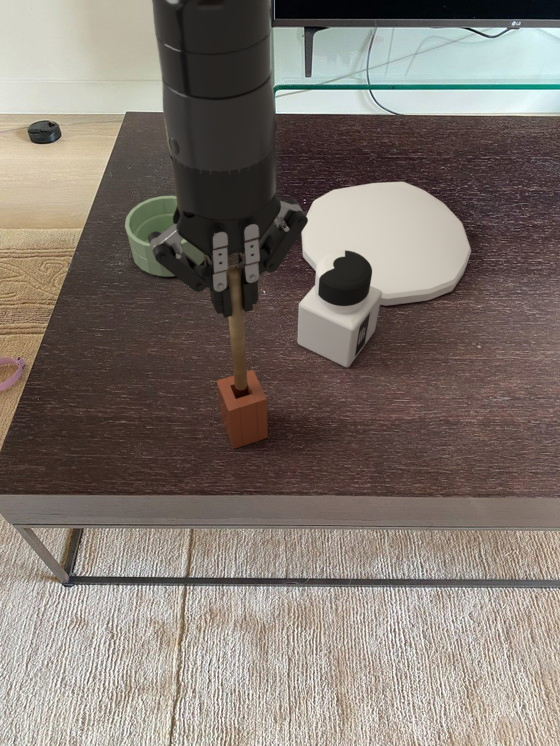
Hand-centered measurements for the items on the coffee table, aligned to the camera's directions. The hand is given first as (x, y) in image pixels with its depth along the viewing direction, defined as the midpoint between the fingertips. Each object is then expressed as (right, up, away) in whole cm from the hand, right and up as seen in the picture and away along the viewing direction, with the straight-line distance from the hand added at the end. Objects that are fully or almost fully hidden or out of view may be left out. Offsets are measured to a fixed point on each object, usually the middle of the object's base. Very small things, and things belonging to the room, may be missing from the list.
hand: (234, 307), depth 57 cm
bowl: (-12, +12, +35) cm, 39 cm away
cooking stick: (0, -8, +10) cm, 12 cm away
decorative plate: (+20, +13, +36) cm, 43 cm away
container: (+12, -1, +25) cm, 28 cm away
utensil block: (0, -13, +17) cm, 21 cm away
